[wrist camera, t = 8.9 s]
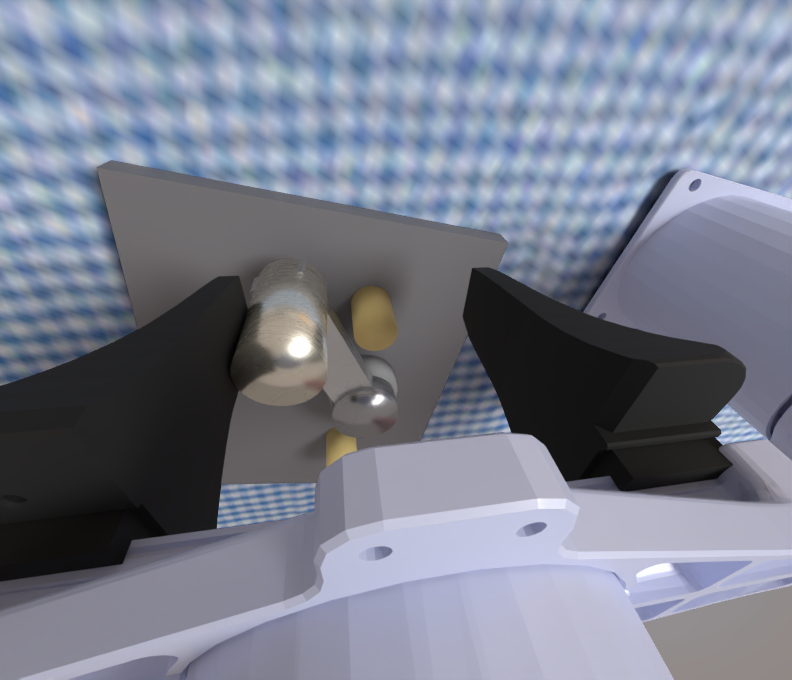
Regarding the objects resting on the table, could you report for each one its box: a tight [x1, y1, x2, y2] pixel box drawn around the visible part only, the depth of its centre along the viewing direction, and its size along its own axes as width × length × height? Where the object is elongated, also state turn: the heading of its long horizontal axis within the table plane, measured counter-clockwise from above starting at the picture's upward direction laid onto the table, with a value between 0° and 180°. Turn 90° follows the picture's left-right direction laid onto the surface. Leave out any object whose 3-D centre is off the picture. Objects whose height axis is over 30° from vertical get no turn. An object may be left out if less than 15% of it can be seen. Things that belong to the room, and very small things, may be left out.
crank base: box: [97, 160, 508, 484], centre depth 18 cm, size 15×19×3 cm
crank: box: [230, 258, 398, 438], centre depth 14 cm, size 10×3×5 cm, turn 20°
